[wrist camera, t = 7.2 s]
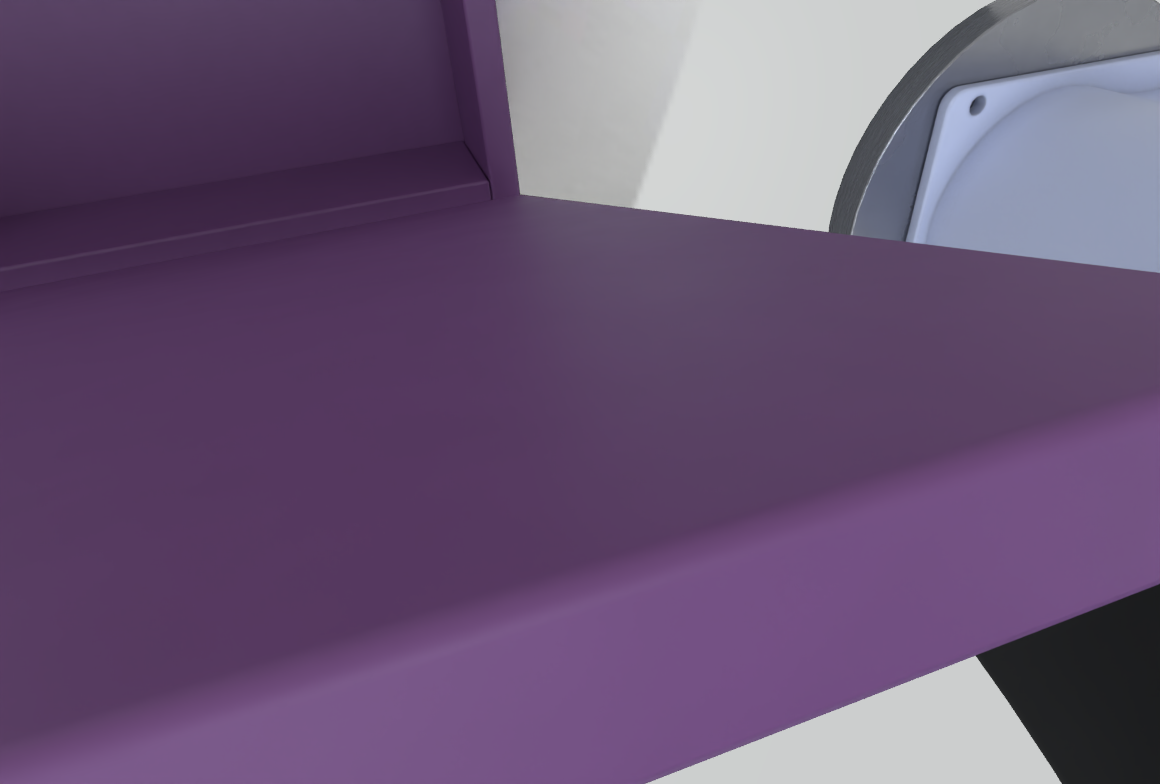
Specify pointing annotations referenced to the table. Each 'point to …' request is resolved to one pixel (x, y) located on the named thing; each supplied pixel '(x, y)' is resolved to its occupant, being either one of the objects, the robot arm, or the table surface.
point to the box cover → (545, 492)
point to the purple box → (237, 124)
